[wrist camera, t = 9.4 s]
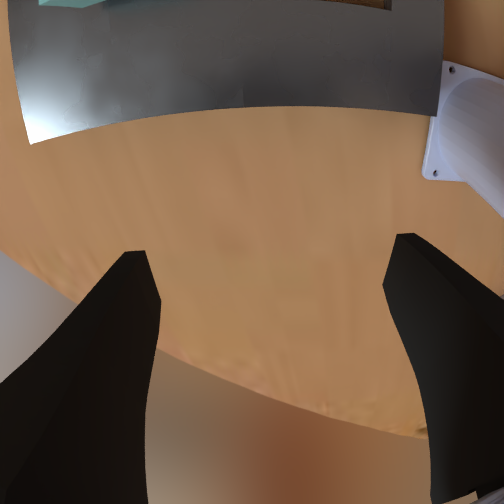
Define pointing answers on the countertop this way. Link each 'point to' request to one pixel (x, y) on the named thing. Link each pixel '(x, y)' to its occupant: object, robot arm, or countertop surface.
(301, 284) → the countertop surface
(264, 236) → the countertop surface
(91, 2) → the peg
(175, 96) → the keyhole bracket
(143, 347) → the robot arm
